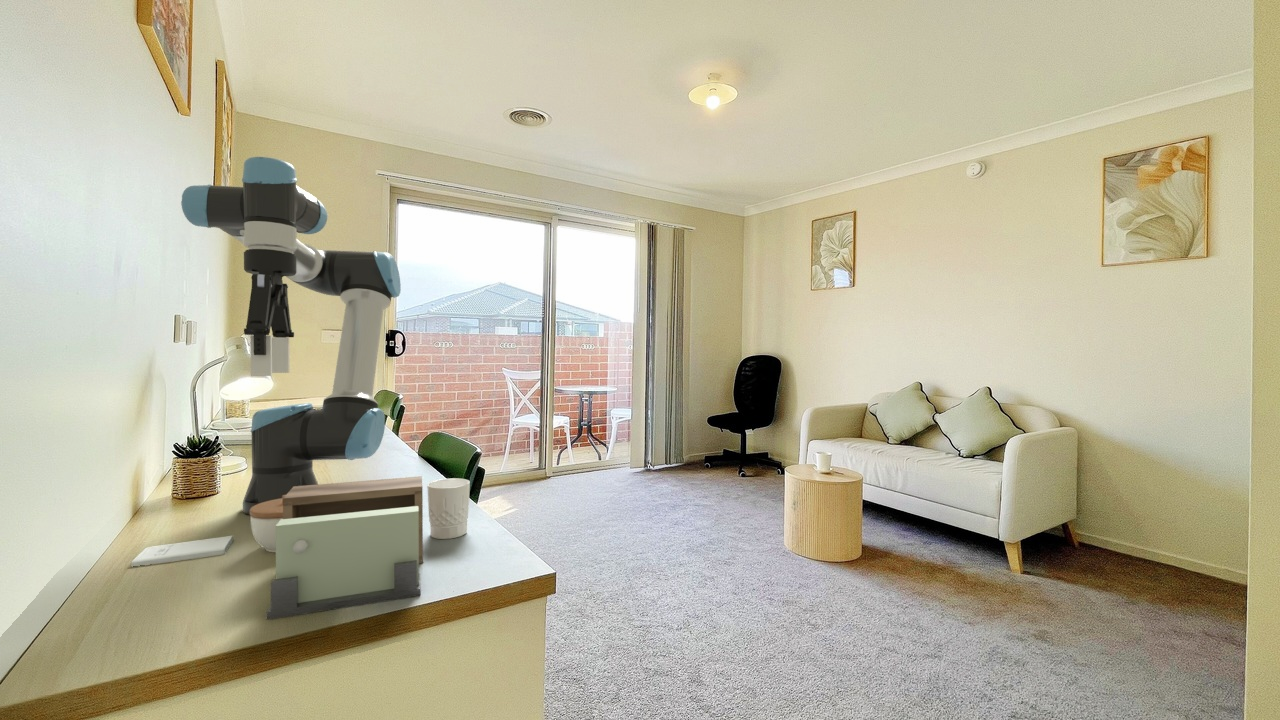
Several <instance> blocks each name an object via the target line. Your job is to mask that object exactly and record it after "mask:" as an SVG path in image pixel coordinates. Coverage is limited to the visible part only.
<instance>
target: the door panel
mask: <svg viewBox="0 0 1280 720" xmlns="http://www.w3.org/2000/svg"><path fill="white" fill-rule="evenodd" d="M414 560H417V585H419V573H420V570H419V569H420V565H419V564H420V563H419V509H418V506H412V507H402V508H392V509H382V510H372V511H362V512H352V513H342V514H332V515H322V516H312V517H302V518H292V519H281V520H280V521H279V522H278V524H277V525H276V552H275V579H281V578H288V577H296V576H298V603H301V602H307V601H314V600H321V599H327V598H334V597H340V596H347V595H354V594H360V593H367V592H373V591H380V590H387V589H393V588H394V563H399V562H407V561H414Z"/></svg>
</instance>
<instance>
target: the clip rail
mask: <svg viewBox="0 0 1280 720" xmlns="http://www.w3.org/2000/svg"><path fill="white" fill-rule="evenodd" d="M421 591H422V590H421V573H420V572H419V585H417V560H414V561H407V562H399V563H394V588H393V589H387V590H380V591H373V592H367V593H360V594H354V595H347V596H340V597H334V598H327V599H321V600H314V601H307V602H301V603H298V576H296V577H288V578H281V579H276V578H274V579H272V580H271V581H270V606H269V607H268V609H267V610H266V620H267V621H268V620H274V619H280V618H286V617H293V616H299V615H305V614H311V613H312V614H313V613H317V612H318V613H319V612H324V611H330V610H336V609H337V610H338V609H345V608H349V607H351V608H352V607H356V606H362V605H369V604H374V603H381V602H388V601H395V600H400V599H406V598H413V597H419V596H421V595H422V594H421Z"/></svg>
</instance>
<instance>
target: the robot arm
mask: <svg viewBox="0 0 1280 720" xmlns="http://www.w3.org/2000/svg"><path fill="white" fill-rule="evenodd" d="M296 174H297V173H296V168H295V167H294V166H293V165H292V164H291V163H289V162H287V161H285V160H282V159H278V158H275V157H274V158H272V157H268V156H264V157H263V156H252V157H248V158H247V159H245V161H244V163H243V173H242V178H241V181H242V186H232V185H231V186H229V185H212V184H207V185H204V184H203V185H200V184H199V185H190V186H187V187H186V188H185V189H184V191H183V192H182V194H181V202H180V204H181V210H182V213H183V215H184V217H185V218H186V220H187V221H188V222H189V223H190V224H192V225H194V226H196V227H203V228H207V229H211V228H216V229H220V230H221V231H223V232H225V234H228V235H229V236H231V237H232V238H234V239H235V240H237V241H238V242H240V243H241V244H243V246H244V247H245V248H247V249H246V250H245V251H243V270H244V271H245V272H246V273H247V274H251V290H250V295H249V296H250V297H249V305H248V306H249V307H248V312H247V317H246V318H247V320H246V325H245V328H243V334H244V335H245V336H250V376H251V377H272V376H273V374H282V373H283V374H286V373H287V374H289V373H290V338H294V337H295V332H294V331H293V329H292V324H291V315H290V307H289V306H290V304H289V296H288V293H289V292H288V287H289V286H288V284H287V283H283V277H286V278H287V279H289V280H290V281H291V282H293V283H295V284H297V285H299V286H301V287H303V288H305V289H308V290H311V291H314V292H316V293H319V294H323V295H326V296H332V297H333V296H334V297H339V298H340V300H341V301H342V303H344V304H345V309H344V316H343V319H342V320H343V322H342V326H341V334H340V341H339V346H338V352H337V353H338V355H337V359H336V360H337V361H336V367H335V373H334V380H333V385H332V387H333V388H332V391H331V394H330V395H328V396H326V397H325V398H324V399H323V402H322V408H320V409H314V406H313V404H312V403H310V402H308V403H297V404H290V405H284V406H277V407H275V406H274V407H270V408H265V409H260V410H258V411H257V410H256V411H255V413H253V415H252V420H251V429H250V433H251V470H252V471H251V479H250V481H249V484H248V487H247V489H246V492H245V495H244V496H243V501H242V512H243V514H246V515H249V516H250V509H251V507H253V506H255V505H257V504H260V503H262V502H266V501H270V500H275V499H281V498H282V496H283V495H286V494H287V493H288V492H289V491H290V490H291V489H292V488H293V487H294V486H306V485H319V483H318V480H317V478H316V476H315V472H314V469H313V466H314V465H313V464H314V463H313V461H330V460H331V461H332V460H334V461H335V460H337V461H338V460H349V461H353V460H354V461H355V460H359V459H360V460H361V459H368V458H370V457H372V456H374V455H375V454H376V453H377V451H378V449H379V448H380V446H381V444H382V441H383V438H384V433H385V429H386V426H385V425H386V424H385V423H386V422H385V421H386V419H385V418H386V416H385V412H384V411H383V410H382V409H381V408H379V403H378V401H376V399H375V398H374V396H373V393H374V388H375V387H374V386H375V377H376V369H377V362H378V355H379V346H380V338H381V329H382V321H383V315H384V310H386V309H388V308H389V307H390V306H391V302H392V298H394V299H395V298H398V297H399V296H400V294H401V289H402V287H401V277H400V272H399V267H398V263H397V261H396V260H395V257H394V256H393V255H392V254H391V253H389V252H384V251H382V252H381V251H376V250H373V251H359V250H358V251H356V250H351V251H350V250H329V249H328V250H325V249H319V248H318V249H317V248H316V247H314V246H312V245H310V244H306V243H303V242H301V241H300V240H299V239H298V238H297V233H298V234H303V235H314V234H317V233H319V232H320V231H322V230H323V229H324V228H325V226H326V224H327V222H328V213H327V209H326V207H325V206H324V204H323V203H322V202H321V201H320V200H318V198H317V197H316V196H314V195H312V194H311V193H310V192H307V191H305V190H304V189H302V188H301V187H299V186H298V185H297V182H298V179H297V175H296ZM271 332H272V333H271ZM270 334H271V335H270Z"/></svg>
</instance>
